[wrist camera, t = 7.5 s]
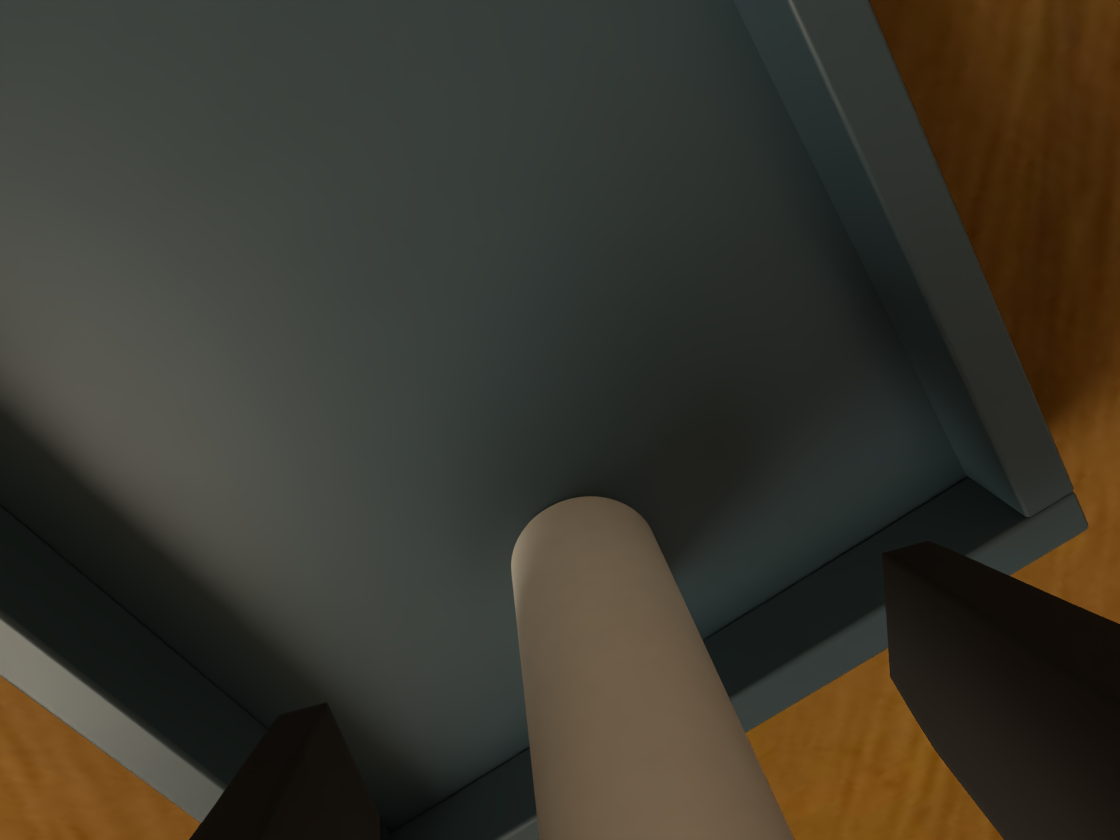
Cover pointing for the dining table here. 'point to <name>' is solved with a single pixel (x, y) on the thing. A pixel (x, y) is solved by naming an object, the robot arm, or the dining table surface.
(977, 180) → the dining table surface
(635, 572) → the glue stick
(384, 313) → the desk tray
